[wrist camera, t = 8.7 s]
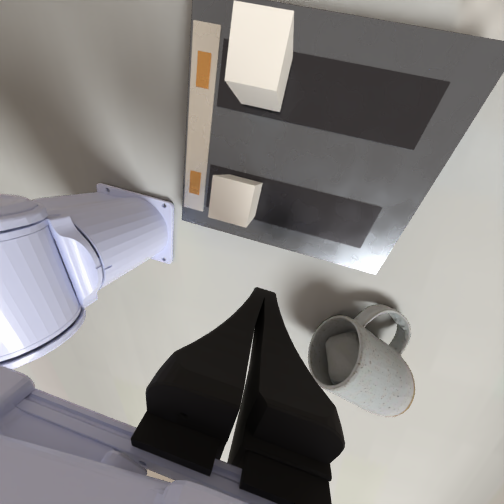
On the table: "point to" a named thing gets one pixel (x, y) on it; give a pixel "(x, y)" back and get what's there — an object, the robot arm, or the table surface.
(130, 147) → the table surface
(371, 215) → the switch panel
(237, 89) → the switch tab
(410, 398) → the ceramic mug
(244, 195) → the switch tab
